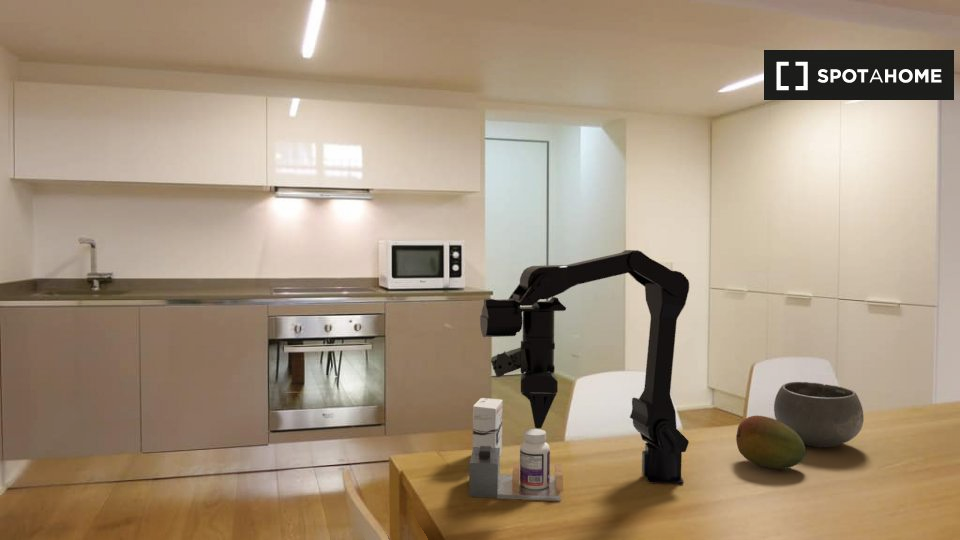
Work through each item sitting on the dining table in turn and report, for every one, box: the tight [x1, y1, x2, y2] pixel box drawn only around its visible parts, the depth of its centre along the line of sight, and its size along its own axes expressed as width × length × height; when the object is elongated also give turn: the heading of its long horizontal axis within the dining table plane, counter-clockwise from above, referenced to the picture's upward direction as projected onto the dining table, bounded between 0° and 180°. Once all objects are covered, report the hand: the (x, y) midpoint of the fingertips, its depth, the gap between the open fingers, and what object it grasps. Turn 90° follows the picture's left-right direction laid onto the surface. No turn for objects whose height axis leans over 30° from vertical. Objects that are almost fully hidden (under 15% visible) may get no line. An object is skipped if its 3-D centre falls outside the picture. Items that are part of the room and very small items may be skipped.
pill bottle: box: [519, 428, 551, 490], centre depth 119 cm, size 5×5×10 cm
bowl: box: [773, 381, 864, 448], centre depth 147 cm, size 18×18×13 cm
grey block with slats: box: [468, 446, 564, 502], centre depth 119 cm, size 16×10×7 cm, turn 86°
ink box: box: [472, 397, 503, 456], centre depth 136 cm, size 8×5×12 cm, turn 168°
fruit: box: [735, 415, 806, 470], centre depth 133 cm, size 12×12×10 cm
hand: (537, 421), depth 120 cm, fingers open, 9 cm apart
